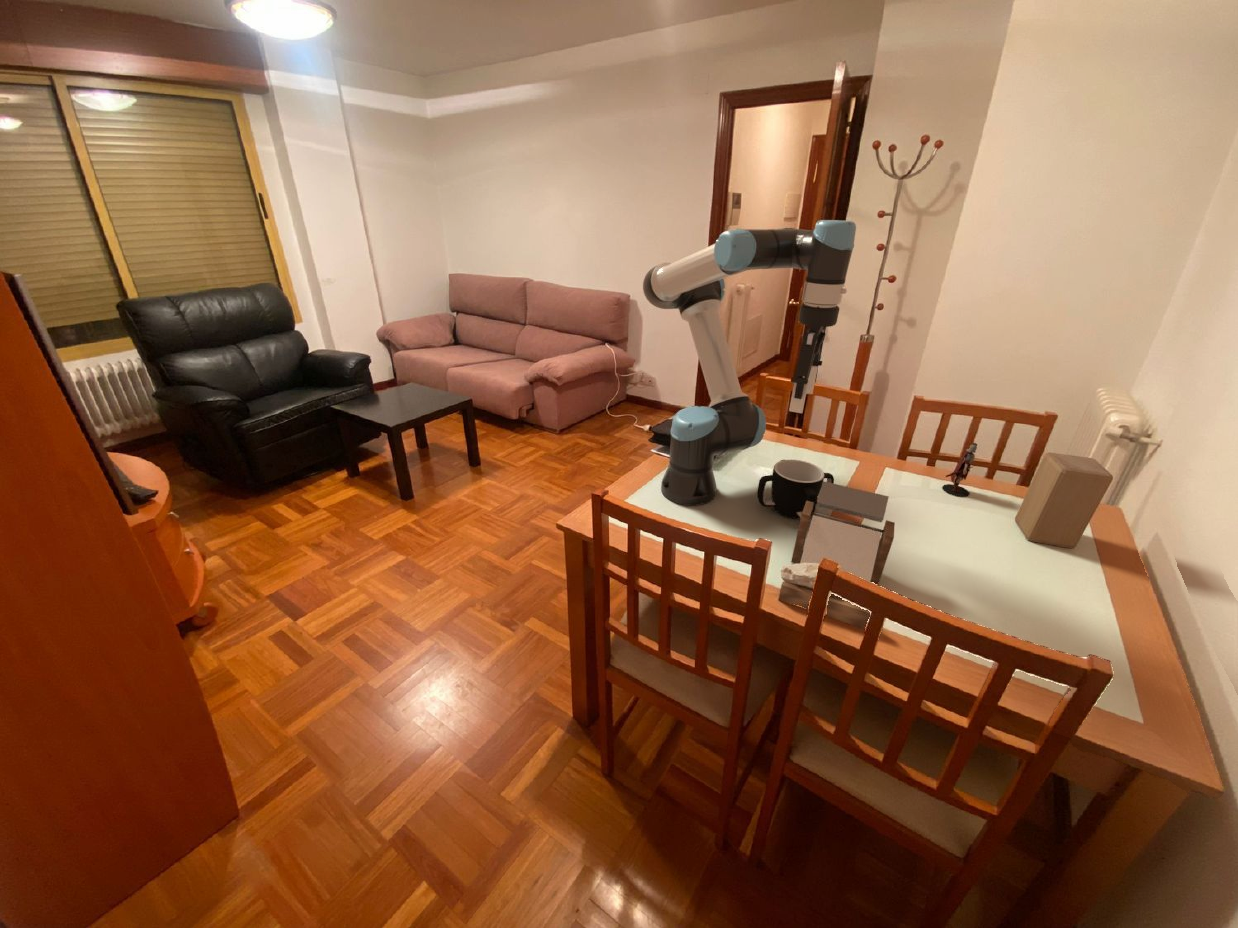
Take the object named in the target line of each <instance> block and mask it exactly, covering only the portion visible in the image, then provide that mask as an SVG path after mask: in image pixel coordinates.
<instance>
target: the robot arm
mask: <svg viewBox="0 0 1238 928" xmlns="http://www.w3.org/2000/svg"><path fill="white" fill-rule="evenodd" d="M856 232H857V224H856V223H855V222H854V221H852V220H839V219H836V220H835V219H820V220H817V222H816V223H815V227H814V229H812V230H810V229H801V228H794V227H781V228H777V229H775V228H772V229H769V228H768V229H754V228H753V229H752V228H751V229H749V228H748V229H747V228H746V229H745V228H735V229H730V230H729V229H728V230H725V231H723V232H721V234H719V236H718V238H717V239H716V241H715V243H713V244H711V245H709V246H707V247H704V248H702V249H700V250H698V251H696V252H694V253H692V254H689V255H687V256H685V257H683V258H680V259H678V260H676V261H674V262H662V263H660V264H658V265H655V266H653V267H652V268H651V269H650V270H648V272H646V274H645V276H644V278H643V282H642V289H643V294H644V296H645V298H646V300H647V301H648V302H649V303H650V305H652V306H654V307H656V308H658V309H663V310H678V311H679V314H680V317H681V319H682V320H683V321H685V322H687V323H688V326H689V328H690V329H689V330H690V333H691V337H692V339H693V342H694V346H695V350H696V354H697V358H698V361H699V364H700V367H701V372H702V374H703V377H704V381H705V384H706V389H707V391H708V395H709V398H710V403H709V405H708V406H705V405H704V406H703V405H701V406H698V405H694V406H688V407H685V408H683V409H680V410H678V411H677V412H676V413H675V414H674V416H673V418H672V423H671V428H670V446H669V447H670V448H669V462H668V463H669V464H668V466H667V469H666V470H665V473H664V475H663V477H662V479H661V484H660V485H661V486H660V490H661V493H662V495H663V496H664V497H665V498H666V499H668V500H669V501H672V502H673V503H676V504H679V505H683V506H700V505H704V504H705V505H706V504H707V503H710V502H711V501H713V500H714V499H715V497H716V495H717V483H716V482H717V481H716V479H715V474H714V470H713V465H714V458H715V456H718V455H722V454H727V453H731V452H736V451H741V450H742V451H745V450H746V449H749V448H752V447H755V446H757V445H758V444H760V443H761V441H762V440H763V439H764V435H765V433H766V431H767V430H766V429H767V421H766V416H765V413H764V410H763V409H762V408H761V407H760V406H759V405H757V404H755V403H754V404H753V403H752V402H751V399H750V396H749V394H746V393H744V392H743V391H742V388H741V385H740V382H739V381H740V380H739V378H738V374H737V371H736V368H735V365H734V361H733V358H732V355H731V352H730V348H729V343H728V341H727V337H726V334H725V332H724V327H723V324H722V320H721V317H720V314H719V310H720V308H721V307H722V301H723V299H724V297H725V293H726V292H725V291H724V289H725V288H726V283H725V278H729V277H731V276H734V275H738V274H741V273H743V272H747V271H752V270H754V271H755V270H768V269H769V270H772V269H773V270H774V269H796V270H797V269H798V270H804V271H806V276H805V280H804V285H803V291H802V295H801V301H802V302H803V303H802V304H801V305H800V309H799V315H798V320H797V321H798V323H800V324H802V325H806V326H807V327H808V328H807V329H806V330H805V332H804V333H803V336H802V344H801V346H800V353H799V356H798V361H797V366H796V369H795V373H794V376H793V377H791V379H790V382H791V383H793V388H792V393H791V397H790V404H789V408H788V409H789V410H788V412H793V413H798V414H803V411H804V406H805V403H806V402H805V401H806V397H807V395H813V393H814V387H815V384H816V378H817V374H818V368H819V367H822V365H823V360H821V359H822V349H823V345H824V340H825V338H826V332H825V331H826V328H829V327H830V328H831V327H833V326H836V325H837V322H838V318H839V313H840V309H841V308H840V307H839V306H838V305H840V304H841V302H842V298H843V295H844V294H847V292H848V291H847V289H846V288H844V287H845V284H846V278H847V273H848V269H849V265H850V262H851V257H852V253H853V251H854V248H855V239H856V238H855V237H856Z"/></svg>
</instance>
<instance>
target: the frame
mask: <svg viewBox="0 0 1238 928" xmlns="http://www.w3.org/2000/svg"><path fill="white" fill-rule="evenodd" d="M813 505H814V502H810V501H806V504H805V506H804V509H803V512H802V515H801V520H800V519H799V525H798V529H797V534H796V538H795V542H794V547H793V552H792V556H791V561H790V563H792V564H800V561H801V558H802V554H803V550H804V547H805V543H806V539H807V535H808V532H809V527H810V523H811V519H812V518H811V514H812V515H815V516H819V517H822V518H826V519H830V520H834V521H838V522H842V523H846V524H850V525H853V526H857V527H861V528H865V529H869V530H873V531H877V532H881V537H880V541H879V546H878V550H877V555H876V559H875V563H874V568H873V572H872V576H871V581H870V582H874V583H875V584H878V585H879V583H880V580H881V577H882V574H883V571H884V569H885V565H886V562H887V559H888V556H889V554H890V551H891V548H892V545H893V542H894V539H895V538H894V537H895V522H894V521H890V520H885V522H884V526H883V529H881V528H877V527H874V526H873V527H872V526H869V525H865V524H862V523H858V522H854V521H850V520H846V519H842V518H838V517H834V516H831V515H827V514H822V513H818V512H812V509H813ZM810 518H811V519H810ZM812 592H813V591H812V590H808V589H805V588H802V587H799V586H796V585H793V584H789V583H786V582H784V581H782V582H781V586H780V590H779V595H778V599H777V601H779V602H782V601H783V603H785V602H787V603H786V604H788V603H791V604H795V605H799V606H802V607H804V608H806V609H805V610H806V611H809V610H808V606H809V601H810V599H811V596H812ZM851 603H852V602H848V601H843V600H840V599H837V598H834V597H829V601H828V605H827V614H826V616H825V617H828V618H831V619H833V620H837V621H840V622H843V623H845V624H849V625H852V626H853V627H858V628H861V629H863V630H866V629H865V627H866V624H867V621H868V619H869V617H870V612H869V611H868V610H864V609H861V608H860V607H858V606H856V605H857V604H856V605H852V604H853V603H852V604H851ZM791 604H790V605H791Z"/></svg>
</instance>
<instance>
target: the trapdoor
mask: <svg viewBox="0 0 1238 928" xmlns="http://www.w3.org/2000/svg"><path fill="white" fill-rule="evenodd" d="M818 497H819V498H818V502H817V504H816V507H819V508H822V509H825V510H830V511H833V512H838V513H842V514H847V515H850V516H854V517H858V518H861V519H862V518H863V519H865V520H868V521H869V520H870V521H874V522H877V523H882V522H883V520H884V518H885V514H886V510H887V506H888V501H889V495H884V494H880V493H876V492H871V491H867V490H863V489H860V488H859V489H858V488H854V487H849V486H846V485H840V484H837V483H829V482H826V481H824V480H823V483H822V487H821V490H820V493H819V495H818ZM881 535H882V533H881V532H878V531H874V530H870V529H866V528H862V527H858V526H854V525H850V524H847V523H843V522H839V521H835V520H831V519H827V518H823V517H820V516H816V515H813V517H812V518H811V519H810V523H809V527H808V531H807V535H806V539H805V543H804V548H803V551H802V555H801V558H800V561H799V564H800V563H820V562H821V561H822V560H823V558H828V559H831V560H832V561H834V562H836V563H839V565H840V566H841V568H843V571H845V572H850V573H852V574H854V575H856V576H858V577H861V578H863V579H865V580H866V581H868V582H870V581H871V576H872V572H873V568H874V563H875V559H876V555H877V550H878V546H879V541H880V538H881Z"/></svg>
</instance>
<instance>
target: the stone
mask: <svg viewBox="0 0 1238 928" xmlns="http://www.w3.org/2000/svg"><path fill="white" fill-rule="evenodd" d="M818 566H819V563H800V562H799V564H795V563H792V564H790V565H784V566H782V569H781V570H780V573H781V575H780V577H781V580H783V582H786V583H789V584H793V585H796V586H799V587H802V588H805V589H808V590H812V591H813V586H814V582H815V579H816V576H817V572H818ZM840 568H841V567H840ZM841 571H842V572H843V568H841ZM830 597H834V598H837V599H840V600H842V598H840V597H838V596H835V595H834V594H831V596H830ZM843 601H844V600H843Z"/></svg>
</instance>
